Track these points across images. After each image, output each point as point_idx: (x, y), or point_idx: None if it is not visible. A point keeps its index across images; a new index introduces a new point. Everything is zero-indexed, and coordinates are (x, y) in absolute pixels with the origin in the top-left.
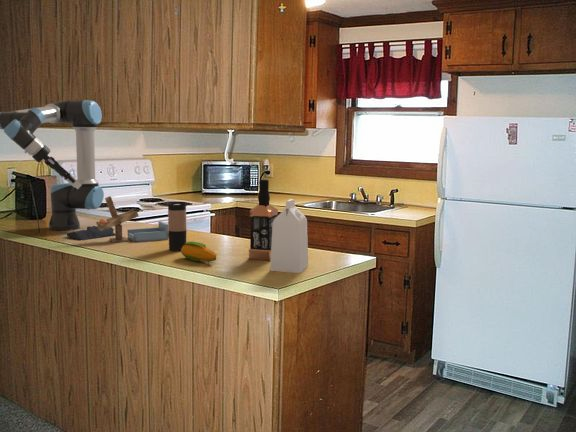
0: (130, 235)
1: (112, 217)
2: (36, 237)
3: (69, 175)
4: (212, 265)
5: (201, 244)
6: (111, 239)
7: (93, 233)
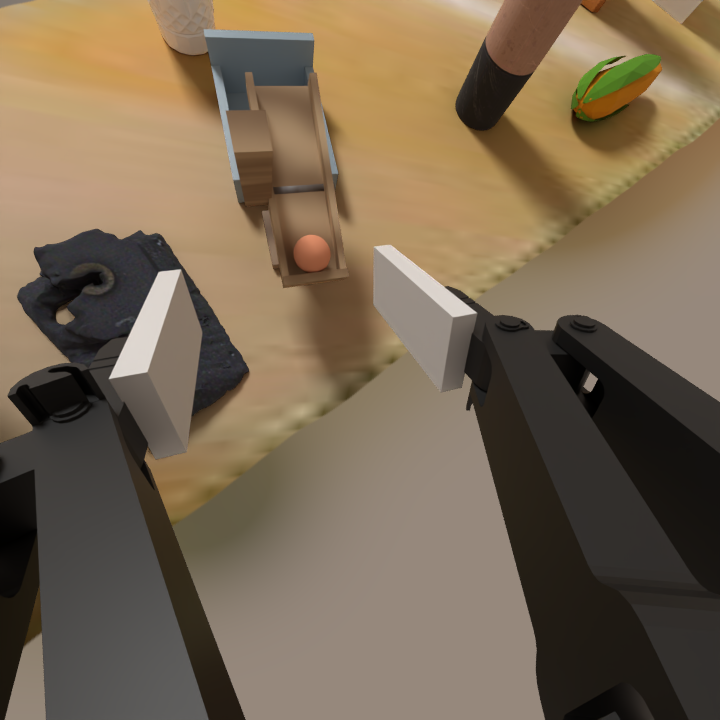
0: None
1: (275, 200)
2: None
3: (535, 331)
4: (641, 95)
5: (654, 61)
6: None
7: None
